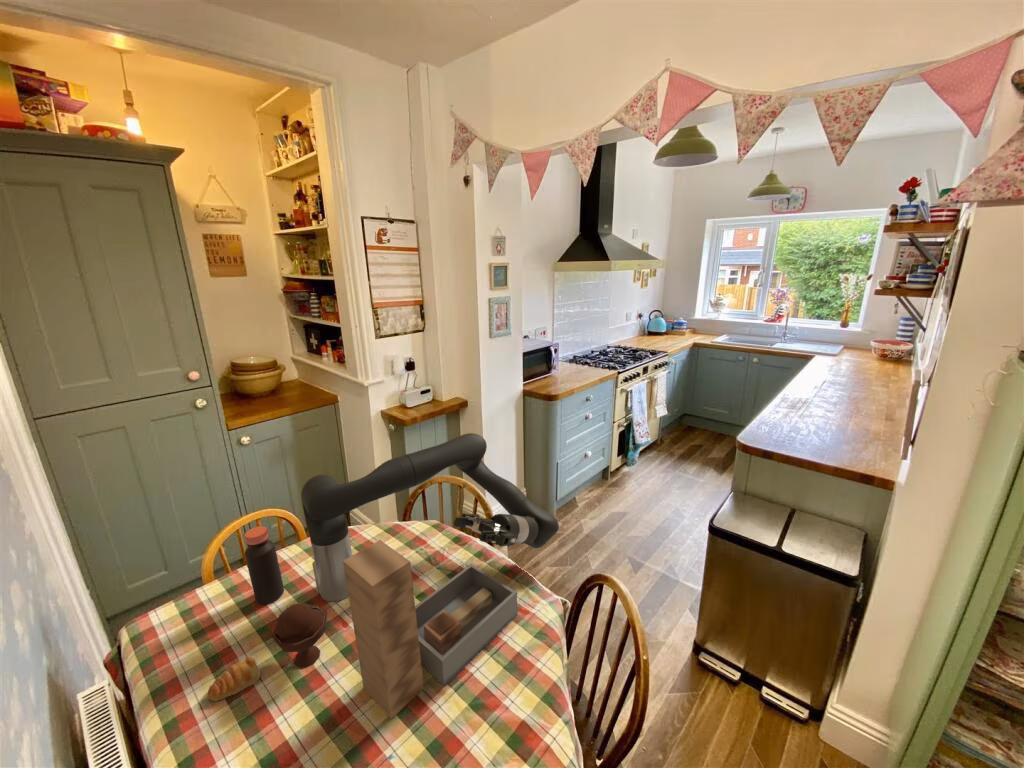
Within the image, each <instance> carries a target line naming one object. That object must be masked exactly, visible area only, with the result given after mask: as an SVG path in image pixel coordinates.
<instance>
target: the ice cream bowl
mask: <svg viewBox="0 0 1024 768" xmlns="http://www.w3.org/2000/svg"><path fill="white" fill-rule="evenodd" d="M327 620H328V611H327V610H325V609H324V608H323V607H322V606H321V605H320V604H319V605H318V604H317V605H315V604H314V605H312V604H311V605H310V604H309V603H303V602H302V603H301V602H300V603H299V602H297V603H294V604H292V605H289V606H287V607H286V608H285V609H284V610H282V611H281V612H280V614H279V615H278V617H277V619H276V623H275V626H274V628H273V632H272V640H273V641H274V642H275V644H277V646H278V647H279V648H280V649H281V650H282V651H283V652H285V653H296V654H295V658H294V661H293V662H294V663H293V665H294V666H295V667H296V668H297V669H306V668H309V667H310V666H312V665H314V664H316V662H317V661H318V660H319V658H320V656H321V649H320V648H318V647H319V646H317V645H315V644H316V643H317V642H318V641H319V640H320V638H322V636H324V634H325V631H326V628H327Z"/></svg>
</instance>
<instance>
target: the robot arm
mask: <svg viewBox="0 0 1024 768" xmlns="http://www.w3.org/2000/svg"><path fill="white" fill-rule="evenodd" d="M487 447H488V446H487V441H486V439H485V438H484V437H483V436H482V435H480V434H479V433H478V434H477V433H474V432H473V433H471V432H469V433H464V434H462V435H461V434H460V436H457V437H455V438H452V439H450V440H447V441H445V442H442V443H440V444H437V445H434V446H430V447H426V448H423V449H420V450H418V451H414V452H411V453H407V454H403V455H400V456H396V457H393V458H390V459H387V461H384V462H382V463H381V464H380V465H379V466H377V467H376V468H374V469H373V470H371V472H369V473H368V474H367V475H365V476H364V477H363V476H362V477H361V478H358V479H356V480H352V481H348V482H346V483H341V484H340V483H339V482H338V481H337V479H336V478H334V477H333V476H331V475H328V474H317V475H315V476H312V477H311V478H310V479H308V480H307V481H306V482H305V484H304V485H303V486H302V489H301V493H300V498H301V499H300V500H301V505H302V510H303V515H304V518H305V519H304V521H305V524H306V528H307V532H308V535H309V541H310V545H311V550H312V555H313V560H314V561H313V562H312V563H311V565H312V570H313V574H314V581H315V585H316V590H317V593H318V594H320V597H321V598H322V599H323V600H324V601H327V602H337V601H341V600H344V599H346V598H347V597H349V595H348V589H347V583H346V577H345V571H344V565H343V561H344V560H346V559H347V558H349V557H351V556H353V551H352V544H351V539H350V532H349V525H348V524H349V523H348V521H347V519H346V518H347V517H346V516H345V514H347V513H349V512H351V511H353V510H355V509H357V508H360V507H362V506H364V505H367V504H369V503H371V502H375V501H377V500H380V499H382V498H385V497H388V496H390V495H393V494H396V493H399V492H402V491H405V490H409V489H411V488H415V487H417V486H419V485H421V484H422V483H425V482H426V481H428V480H429V479H431V478H433V477H435V476H436V475H437V474H439V473H441V472H442V471H443V470H445V469H447V468H449V467H453V466H456V467H457V469H459V470H460V472H462V473H464V474H465V475H466V476H468V477H469V478H470V479H472V480H473V481H474V482H475V483H476V484H478V485H479V486H481V488H483V489H484V490H485V491H487V493H489V495H491V496H492V497H493V498H494V499H495V500H496V502H498V503H499V504H500V506H501V507H502V508H503V509H504V510H505V511H506V512H507V513H508V514H506V513H497V514H494V515H493V516H492V517H490V518H488V517H486V518H483V517H481V516H480V515H479V514H477V513H475V514H474V513H462V514H461V516H456V517H455V519H454V523H453V526H454V527H456V528H468V529H471V531H472V532H475V533H478V534H480V536H479V541H481V542H485V543H486V542H491V543H492V544H494V545H497V546H499V547H510V546H515V545H520V544H525V545H528V546H530V547H531V548H534V549H540V548H542V547H544V546H545V545H546V544H547V543H548V542H549V541H550V540H551V539H552V538H553V537H554V536H555V535H556V534H557V533H558V531H559V530H560V525H559V522H558V520H557V518H556V517H555V516H554V515H553V514H551V513H550V512H548V511H546V509H544V508H542V507H540V506H538V505H537V504H536V503H534V502H532V500H531V499H529V498H528V496H526V494H525V493H523V492H522V491H521V489H520V488H519V487H517V486H516V485H515V483H512V482H511V481H509V480H508V479H505V478H503V477H501V476H499V475H498V474H496V473H495V472H493V471H492V470H491V469H490V468H489V467H488V466H487V465H486V464H485V463H484V461H483V458H484V456H485V455H486V452H487ZM477 526H478V528H476V527H477Z"/></svg>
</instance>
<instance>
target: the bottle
mask: <svg viewBox="0 0 1024 768" xmlns="http://www.w3.org/2000/svg"><path fill="white" fill-rule="evenodd" d="M244 539H245V542H246V545H247V547H246V549H245V550H244V557H245V561H246V566H247V571H248V574H249V579H250V582H251V586H252V590H253V595H254V598H255V601H256V603H257V604H259V605H268V604H271V603H274V602H276V601H277V600H278V599H280V598H281V597H282V596H283V594H284V591H285V586H284V582H283V578H282V574H281V569H280V563H279V560H278V554H277V549H276V545H275V542H273V540H271V539H269V532H268V529H267V527H266V526H263V525H262V526H261V525H260V526H259V525H258V526H255V527H253V528H250V529H249V530H247V531H246V532H245V534H244Z"/></svg>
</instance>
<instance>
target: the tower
mask: <svg viewBox="0 0 1024 768" xmlns="http://www.w3.org/2000/svg"><path fill="white" fill-rule="evenodd" d="M343 565H344V571H345V577H346V583H347V589H348V595H349V596H348V601H349V602H348V603H349V607H350V613H351V619H352V625H353V626H352V627H353V632H354V637H355V643H356V648H357V649H356V650H357V655H358V656H357V657H358V660H359V661H358V662H359V668H360V674H361V675H360V676H361V679H362V684H363V685H362V687H363V689H364V690H365V691H366V693H368V695H369V696H370V697H371V698H372V699H373V700H374V701H375V703H376V704H377V705H378V706H379V707H380V708H381V710H382V711H383V712H384V713H385V714H386V715H387V717H389V719H390V720H392V719H394V717H395V716H396V715H398V714H399V713H400V712H401V711H402V710H403V709H404V708H405V707H406V706H407V705H409V703H411V702H412V700H414V699H415V698H416V697H417V696H418V695H419V694H420V693H421V692H422V691H423V690H424V689H425V687H424V679H423V678H424V677H423V668H422V667H423V666H422V665H421V657H420V648H419V638H418V629H417V620H416V610H415V606H416V604H415V603H416V602H415V591H414V586H413V585H414V584H413V583H414V582H413V575H412V566H411V561H410V560H409V559H408V558H407V557H405V556H403V555H402V554H401V553H399V552H398V551H397V550H395V549H394V548H392V547H391V546H389V545H388V544H387V543H385V542H384V541H382V540H381V539H379V540H377V541H375V542H374V543H372V544H370V545H369V546H366V547H364V548H363V549H362V550H359V551H358V552H357V553H354V554H352V556H351V557H349V558H347V559H346V560H344V561H343Z"/></svg>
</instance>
